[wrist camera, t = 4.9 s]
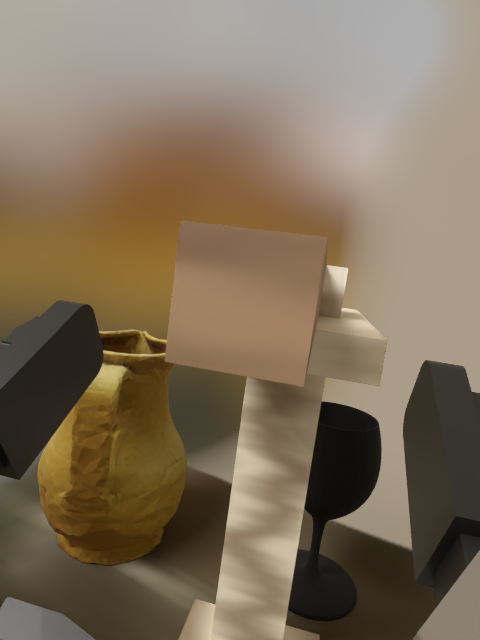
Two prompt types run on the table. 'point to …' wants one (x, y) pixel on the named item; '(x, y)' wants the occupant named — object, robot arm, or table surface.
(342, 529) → the table surface
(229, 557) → the square pedestal column
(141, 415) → the pitcher
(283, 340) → the peg
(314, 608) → the wine glass
